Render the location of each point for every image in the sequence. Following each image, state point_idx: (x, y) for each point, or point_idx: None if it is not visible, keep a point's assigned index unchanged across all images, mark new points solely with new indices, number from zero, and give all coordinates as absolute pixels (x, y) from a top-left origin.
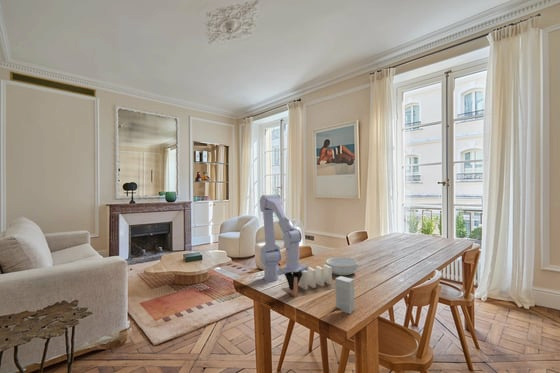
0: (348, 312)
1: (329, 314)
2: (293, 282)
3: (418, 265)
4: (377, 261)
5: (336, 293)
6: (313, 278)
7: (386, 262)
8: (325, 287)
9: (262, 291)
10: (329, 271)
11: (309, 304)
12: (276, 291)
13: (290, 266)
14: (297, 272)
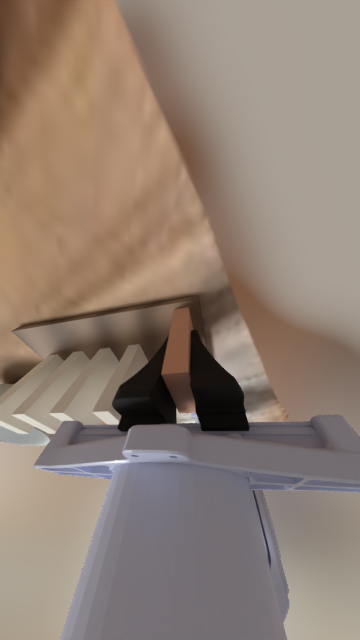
0: None
1: (24, 25)
2: (190, 352)
3: None
4: None
5: None
6: (87, 376)
7: None
8: (68, 341)
9: (262, 371)
10: (8, 396)
11: (140, 239)
12: (224, 362)
13: (246, 561)
14: (148, 416)
